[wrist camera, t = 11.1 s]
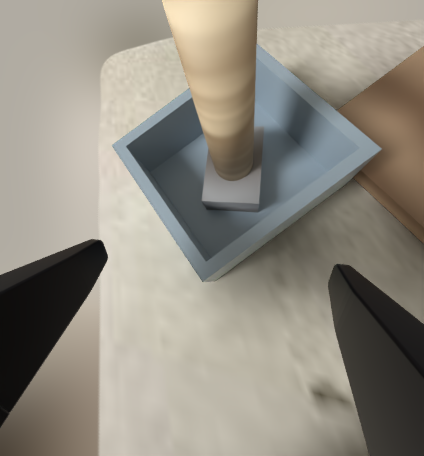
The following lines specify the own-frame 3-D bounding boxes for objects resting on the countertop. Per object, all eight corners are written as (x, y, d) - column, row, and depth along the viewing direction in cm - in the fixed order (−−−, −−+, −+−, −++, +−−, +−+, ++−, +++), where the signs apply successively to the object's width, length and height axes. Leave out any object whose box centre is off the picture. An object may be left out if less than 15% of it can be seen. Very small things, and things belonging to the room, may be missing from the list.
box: (214, 281, 17) (202, 281, 12) (141, 174, 20) (111, 145, 15) (347, 182, 17) (381, 148, 12) (252, 92, 20) (253, 40, 16)
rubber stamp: (257, 212, 17) (276, 60, 5) (206, 209, 17) (122, 71, 6) (262, 142, 18) (286, -106, 6) (215, 142, 19) (158, -79, 7)
